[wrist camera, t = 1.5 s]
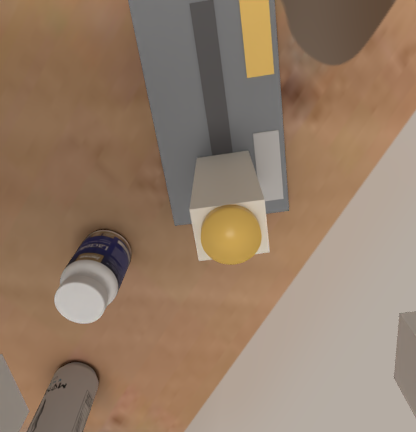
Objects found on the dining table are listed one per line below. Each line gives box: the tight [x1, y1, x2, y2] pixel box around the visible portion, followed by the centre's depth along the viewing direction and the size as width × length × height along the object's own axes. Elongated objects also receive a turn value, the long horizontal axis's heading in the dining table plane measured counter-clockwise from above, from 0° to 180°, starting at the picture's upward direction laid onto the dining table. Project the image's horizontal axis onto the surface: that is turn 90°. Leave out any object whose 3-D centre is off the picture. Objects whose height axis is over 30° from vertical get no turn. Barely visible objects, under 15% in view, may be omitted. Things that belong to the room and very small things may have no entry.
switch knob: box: [189, 151, 270, 265], centre depth 31 cm, size 4×5×14 cm
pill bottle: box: [54, 230, 131, 324], centre depth 39 cm, size 6×6×10 cm
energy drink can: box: [27, 362, 99, 432], centre depth 45 cm, size 6×6×15 cm
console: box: [128, 0, 289, 226], centre depth 36 cm, size 22×12×2 cm, turn 9°
